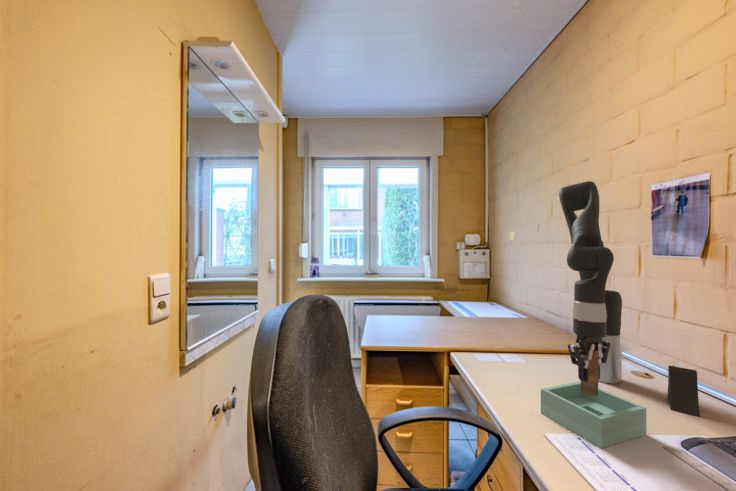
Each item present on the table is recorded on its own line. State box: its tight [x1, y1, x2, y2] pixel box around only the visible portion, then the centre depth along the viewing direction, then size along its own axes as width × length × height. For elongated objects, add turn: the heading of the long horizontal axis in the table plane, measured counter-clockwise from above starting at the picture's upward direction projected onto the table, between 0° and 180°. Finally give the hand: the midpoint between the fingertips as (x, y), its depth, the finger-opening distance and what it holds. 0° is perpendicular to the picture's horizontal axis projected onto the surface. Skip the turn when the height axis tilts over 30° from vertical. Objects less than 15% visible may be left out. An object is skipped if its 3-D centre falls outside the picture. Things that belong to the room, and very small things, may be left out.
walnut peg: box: [580, 351, 599, 396], centre depth 85 cm, size 4×4×12 cm
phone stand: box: [667, 365, 700, 417], centre depth 94 cm, size 9×6×12 cm, turn 139°
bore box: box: [540, 380, 647, 449], centre depth 85 cm, size 17×17×7 cm
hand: (589, 379), depth 85 cm, fingers closed on walnut peg, 4 cm apart
